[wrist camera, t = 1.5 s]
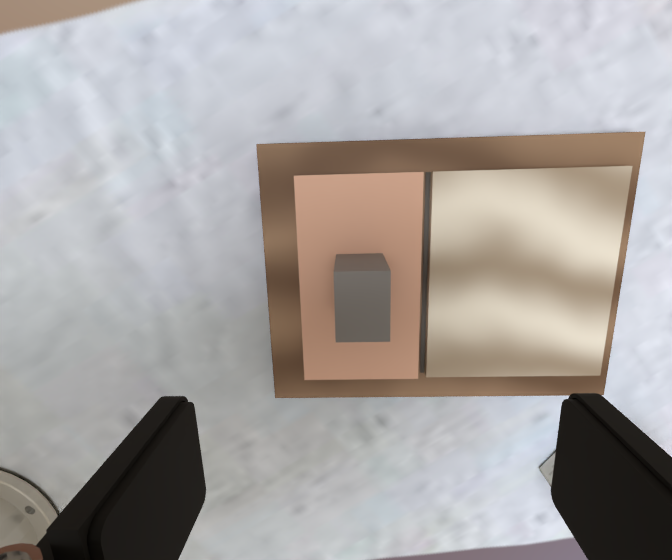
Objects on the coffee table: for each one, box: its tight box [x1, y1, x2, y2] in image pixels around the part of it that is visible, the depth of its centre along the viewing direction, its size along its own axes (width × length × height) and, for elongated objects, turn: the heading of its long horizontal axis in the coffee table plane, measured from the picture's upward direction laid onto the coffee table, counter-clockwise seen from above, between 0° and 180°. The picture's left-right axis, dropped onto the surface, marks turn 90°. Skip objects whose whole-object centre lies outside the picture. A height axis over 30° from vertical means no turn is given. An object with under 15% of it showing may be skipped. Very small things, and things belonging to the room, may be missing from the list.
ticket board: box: [256, 132, 645, 398], centre depth 27 cm, size 18×24×2 cm
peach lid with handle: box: [294, 172, 424, 380], centre depth 24 cm, size 14×8×6 cm, turn 2°
